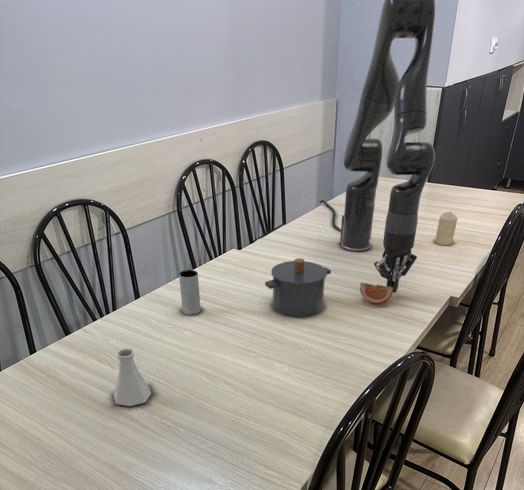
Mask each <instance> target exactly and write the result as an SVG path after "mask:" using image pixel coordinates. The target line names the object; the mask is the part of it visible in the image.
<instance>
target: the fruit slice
mask: <svg viewBox="0 0 524 490" xmlns="http://www.w3.org/2000/svg"><path fill="white" fill-rule="evenodd" d="M359 290H360V291H359V292H360V294H361V296H362V297H363V298H364V299H365V300H366V301H367V302H368V303H370V304H372V305H382V304H384V303H386V302H387V301H389V300H390V298H392V295H393V294H394V293H393V287H389V286H387V285H381V284H377V285H376V284H371V283H365V282H361V283H360V288H359Z"/></svg>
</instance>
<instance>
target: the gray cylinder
mask: <svg viewBox="0 0 524 490" xmlns="http://www.w3.org/2000/svg"><path fill="white" fill-rule="evenodd" d="M178 276H179V289H180V298H181V299H180V300H181V309H182V313H183V314H185V315H188V316H189V315H190V316H193V315H197V314H199V313H200V312H201V296H200V284H199V273H198V271H196V270H193V269H185V270H181V271H180V272H179V273H178Z"/></svg>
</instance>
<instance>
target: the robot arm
mask: <svg viewBox="0 0 524 490" xmlns="http://www.w3.org/2000/svg"><path fill="white" fill-rule="evenodd" d="M435 17H436V0H384V1H383V4H382V8H381V11H380V16H379V21H378V25H377V31H376V36H375V41H374V46H373V52H372V55H371V60H370V62H369V67H368V70H367V74H366V77H365V80H364V83H363V87H362V91H361V94H360V98H359V103H358V107H357V111H356V115H355V118H354V122H353V125H352V128H351V130H350V133H349V136H348V138H347V141H346V143H345V144H346V145H345V147H344V152H343V159H342V160H343V167H344V168H345V170H346V171H348V172H352V173H353V172H354V173H358V172H360V173H361V172H364V174H363V175H361V176H360V177H358V178H357V179H354V180H352V181H350V182H348V183H347V184H346V190H345V199H344V211H343V212H344V213H343V215H342V216H341V226H340V228H339V227H338V225H336V223H335V219H336V210H335V209H334V208H333V207H332V206H331V205H330V204H329V203H327V201H325V200H324V199H321V200H320V201H319V203H320V204H321V203H323V204H324V205H325V206H326V207H327V208H328V209H330V210H331V211H332V222H331V224H332V227H334V229H335V230H336V231H338V232H340V237H339V238H340V239H339V244H340V245H341V248H343V249H345V250H346V251H347V250H348V251H352V252H363V251H367V250H369V249H370V248H371V241H372V232H373V231H372V230H373V224H374V213H375V206H376V205H375V204H376V198H377V197H376V195H377V188H378V185H379V178H380V173H381V172H380V171H381V165H382V159H383V144H382V141H381V140H380V139H379V138H367V137H368V136H369V135H370V134H371V133H372V132H373V131H375V129H376V128H377V127H379V126H380V125H382V123H384V122H385V120H386V119H388V118H389V116H390V115H391V114H392V112H394V113H393V114H394V115H393V116H394V123H393V124H394V125H393V132H392V137H391V142H390V146H389V149H388V153H387V156H386V167H387V170H388V171H389V173H391V175H393V176H411V177H410V178H409V179H408V180H406V181H404V182H400V183H398V184H395V185H393V186H392V188H391V190H390V193H389V202H388V209H387V214H386V216H385V217H386V219H385V223H384V224H385V225H384V233H383V241H382V246H383V248H384V250H383V252H382V255H381V259H380V260H378V261H375V262H374V264H373V266H374V268H375V269H376V270H377V272H378V273H379V275H380V276H381V277H382V278H383V279H385V280H386V286H389V287H393V293H392V294H394V293H397V292H398V288H399V283H400V280H401V278H402V277H405V276H406V275H407V274H408V272H409V271H410V269H411V268H412V266H413V265H414V264H415V262H416V260H417V258H418V256H417V255H415V254H413V253H412V249H413V248H414V246H415V239H416V233H417V227H418V221H419V209H420V203H421V202H420V201H421V197H422V193H423V190H424V187H425V185H426V182H427V180H428V178H429V177H430V174H431V172H432V170H433V167H434V165H435V160H436V150H435V148H434V146H433V145H432V143H430V142H427V141H417V142H416V141H413V142H411V141H410V142H408V141H407V142H406V137H407V136H410V135H414V134H417V133H420V132H422V131H423V130H424V129H425V128H426V126H427V88H428V87H427V86H428V74H429V67H430V59H431V51H432V46H433V44H432V43H433V35H434V29H435V28H434V27H435ZM395 39H414V40H415V41H414V42H415V44H414V51H413V55H412V58H411V59H410V61H409V64H408V66H407V67H406V69H405V71H404V73H403V75H402V76H401V78H400V77H399V76H400V75H399V72H398V70H397V67H396V65H395V63H394V60H393V55H392V49H391V48H392V44H393V42H394V40H395Z"/></svg>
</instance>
